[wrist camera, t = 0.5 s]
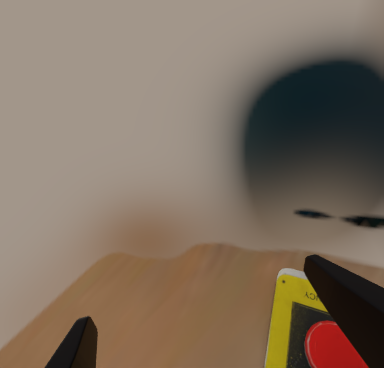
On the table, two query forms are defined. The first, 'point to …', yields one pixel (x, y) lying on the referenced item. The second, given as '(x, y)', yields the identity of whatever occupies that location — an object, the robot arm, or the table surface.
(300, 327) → the emergency button
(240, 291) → the table surface
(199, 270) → the table surface
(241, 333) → the table surface
